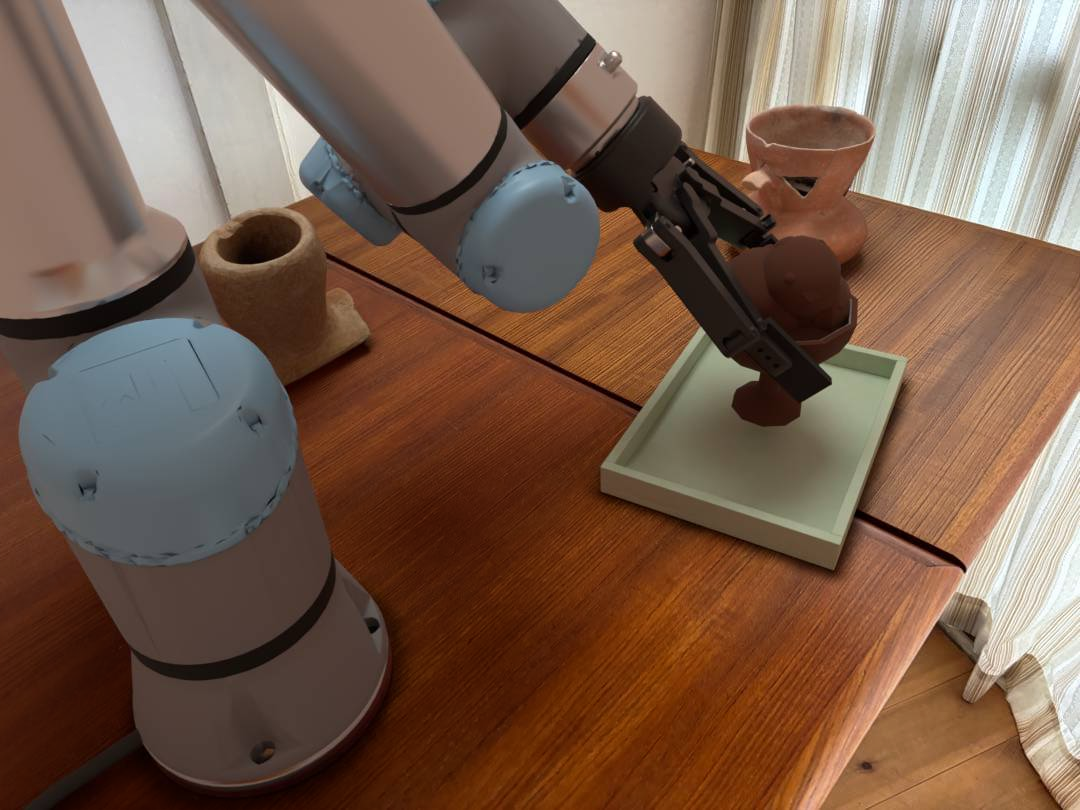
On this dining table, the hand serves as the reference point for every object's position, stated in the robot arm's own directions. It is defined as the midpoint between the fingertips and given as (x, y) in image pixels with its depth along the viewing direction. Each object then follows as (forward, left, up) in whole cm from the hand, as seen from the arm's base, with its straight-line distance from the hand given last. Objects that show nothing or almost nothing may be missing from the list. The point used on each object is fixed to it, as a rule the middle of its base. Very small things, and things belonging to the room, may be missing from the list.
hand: (813, 342), depth 63 cm
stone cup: (-9, +45, -9) cm, 47 cm away
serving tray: (-1, +3, -9) cm, 10 cm away
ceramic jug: (+30, +9, -9) cm, 33 cm away
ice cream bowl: (-1, +3, -6) cm, 7 cm away
